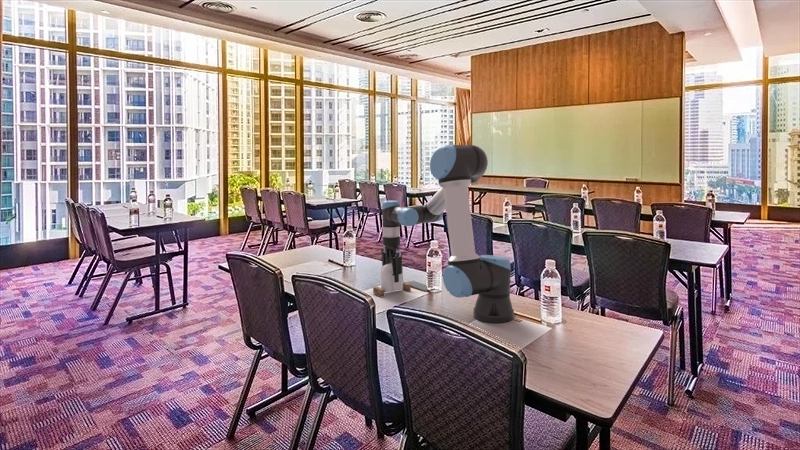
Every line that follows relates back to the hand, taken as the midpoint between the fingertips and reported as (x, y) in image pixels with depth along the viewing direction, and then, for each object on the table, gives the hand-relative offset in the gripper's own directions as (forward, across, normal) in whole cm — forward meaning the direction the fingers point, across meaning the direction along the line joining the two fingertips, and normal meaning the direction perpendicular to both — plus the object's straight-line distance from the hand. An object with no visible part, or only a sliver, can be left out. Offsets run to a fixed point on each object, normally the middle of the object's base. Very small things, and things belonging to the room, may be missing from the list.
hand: (392, 287), depth 221 cm
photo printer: (+1, 0, 0) cm, 1 cm away
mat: (+2, 0, -15) cm, 15 cm away
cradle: (+2, 0, 0) cm, 2 cm away
